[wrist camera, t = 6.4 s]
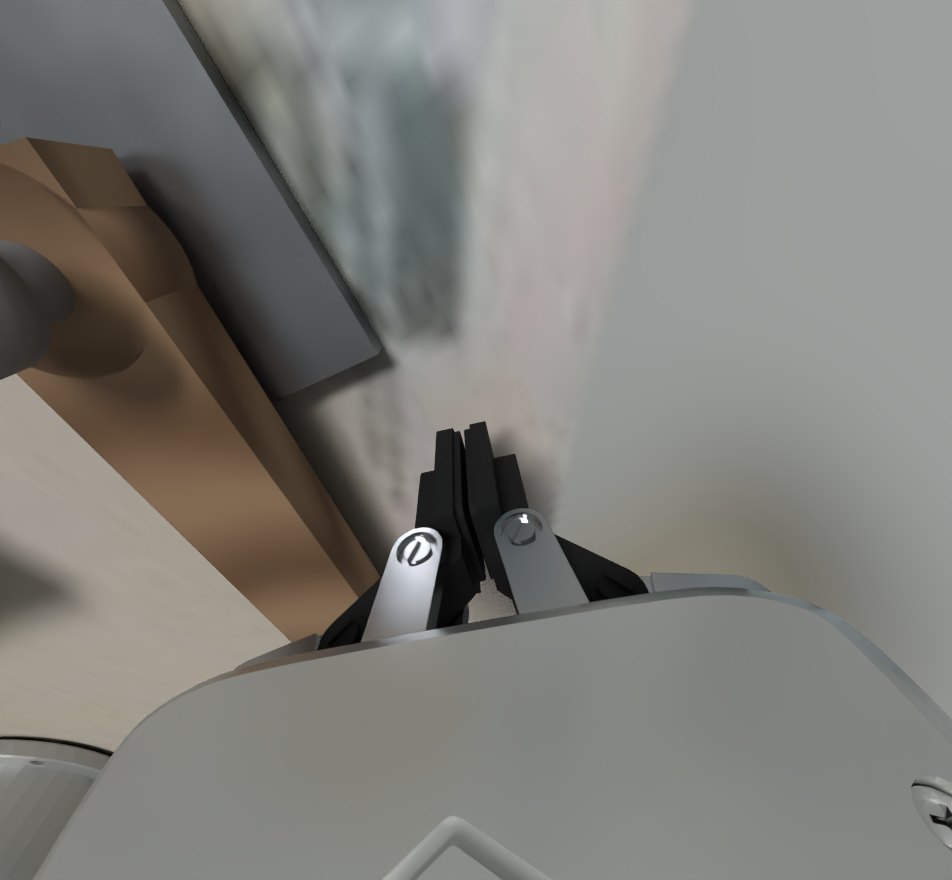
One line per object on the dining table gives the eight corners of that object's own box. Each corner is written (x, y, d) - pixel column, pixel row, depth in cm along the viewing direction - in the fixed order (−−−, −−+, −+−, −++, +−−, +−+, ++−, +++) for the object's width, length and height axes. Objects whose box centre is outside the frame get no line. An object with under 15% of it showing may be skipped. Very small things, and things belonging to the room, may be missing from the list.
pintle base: (382, 345, 12) (378, 354, 12) (153, 451, 14) (138, 464, 13) (101, -126, 7) (64, -160, 6) (-213, 139, 9) (-269, 135, 8)
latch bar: (-50, 190, 9) (-394, 187, 5) (119, 135, 8) (-126, 92, 5) (356, 658, 21) (338, 748, 18) (429, 644, 21) (425, 734, 18)
